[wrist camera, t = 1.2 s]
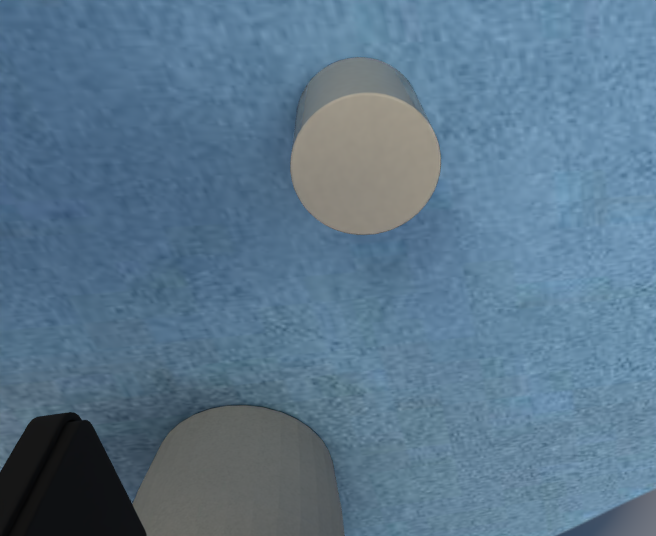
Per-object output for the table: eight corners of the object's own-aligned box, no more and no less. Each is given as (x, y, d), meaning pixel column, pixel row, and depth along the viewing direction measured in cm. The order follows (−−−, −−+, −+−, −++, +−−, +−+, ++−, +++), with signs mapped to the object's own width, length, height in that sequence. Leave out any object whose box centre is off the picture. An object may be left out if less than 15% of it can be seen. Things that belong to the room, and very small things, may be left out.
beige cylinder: (284, 69, 23) (275, 108, 19) (413, 45, 23) (434, 79, 18) (309, 187, 25) (306, 245, 21) (425, 167, 25) (447, 223, 21)
